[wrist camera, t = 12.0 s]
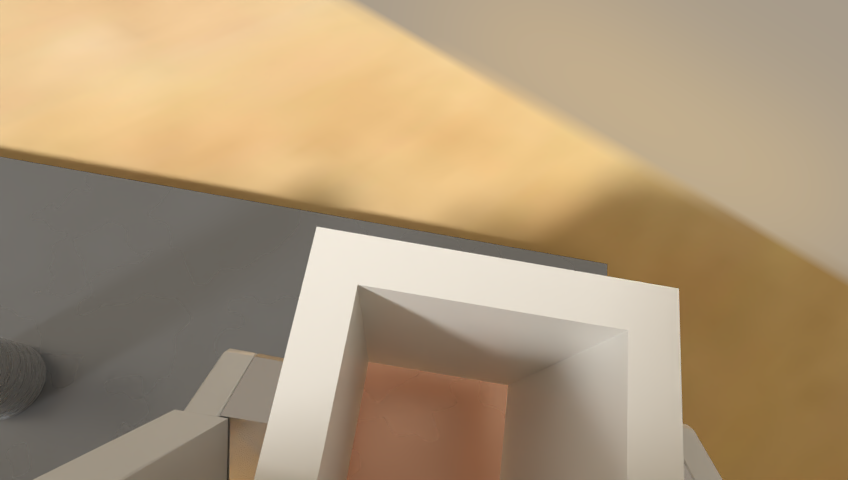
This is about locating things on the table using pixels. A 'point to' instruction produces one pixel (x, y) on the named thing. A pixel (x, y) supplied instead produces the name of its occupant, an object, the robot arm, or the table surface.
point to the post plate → (194, 322)
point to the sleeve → (482, 358)
